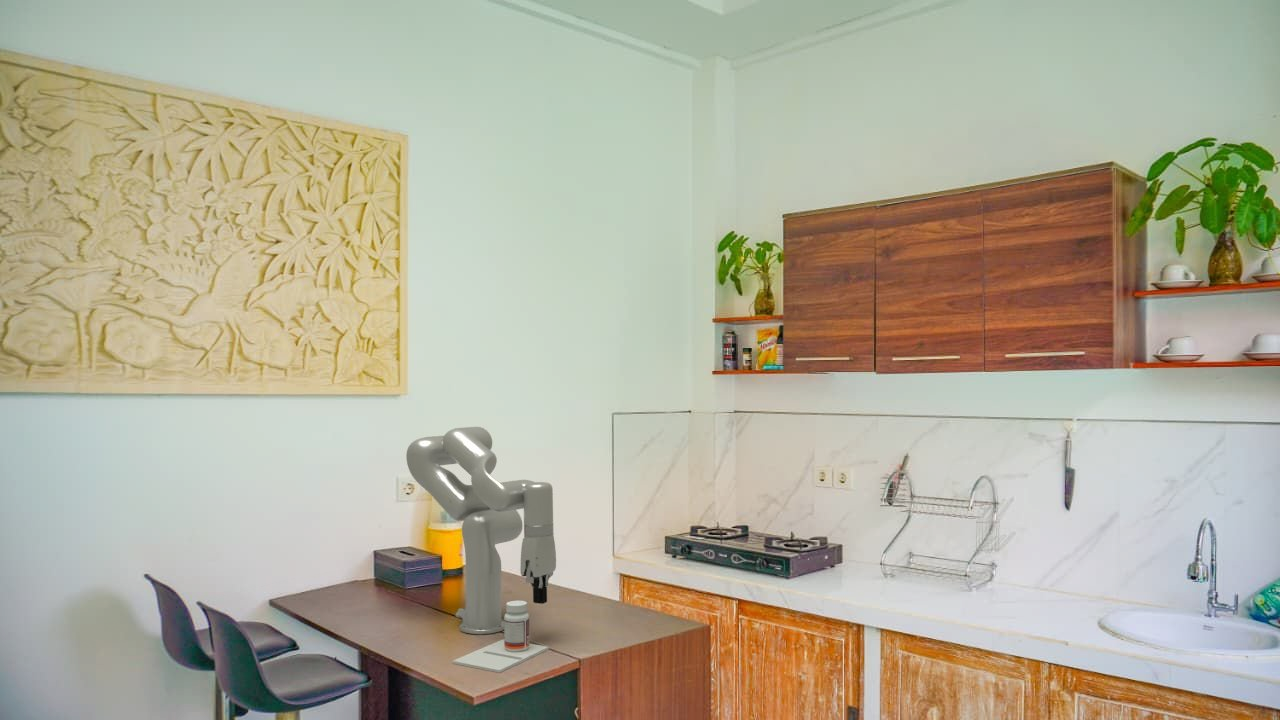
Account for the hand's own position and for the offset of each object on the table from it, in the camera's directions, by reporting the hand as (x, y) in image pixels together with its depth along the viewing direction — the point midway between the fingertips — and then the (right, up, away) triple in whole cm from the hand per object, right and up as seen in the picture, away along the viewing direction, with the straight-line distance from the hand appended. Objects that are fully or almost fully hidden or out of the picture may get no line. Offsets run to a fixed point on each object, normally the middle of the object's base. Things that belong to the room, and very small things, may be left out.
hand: (540, 602), depth 234 cm
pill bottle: (-5, -10, -7) cm, 13 cm away
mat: (-8, -10, -12) cm, 17 cm away
